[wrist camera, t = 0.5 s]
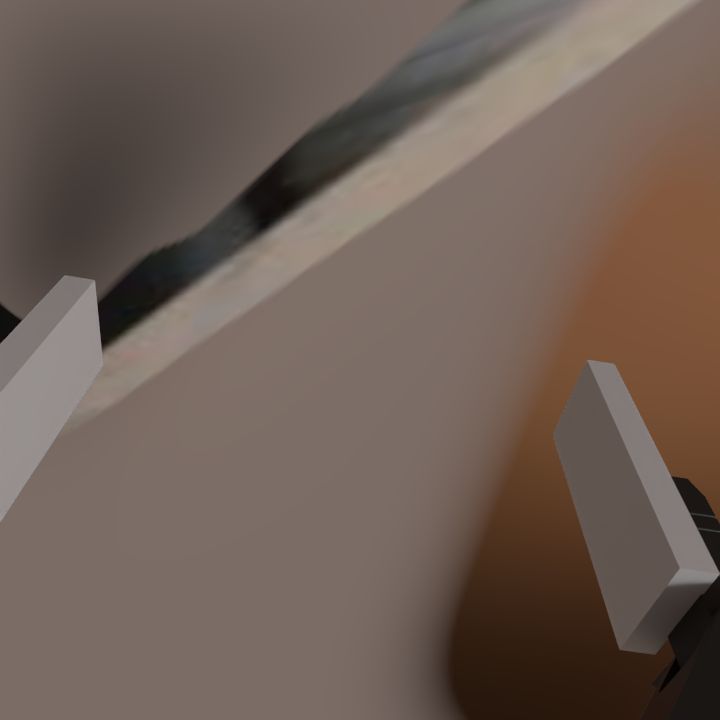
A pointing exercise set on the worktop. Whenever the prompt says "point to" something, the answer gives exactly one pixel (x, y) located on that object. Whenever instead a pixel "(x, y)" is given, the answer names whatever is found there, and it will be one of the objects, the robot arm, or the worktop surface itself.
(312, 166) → the worktop surface
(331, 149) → the worktop surface
